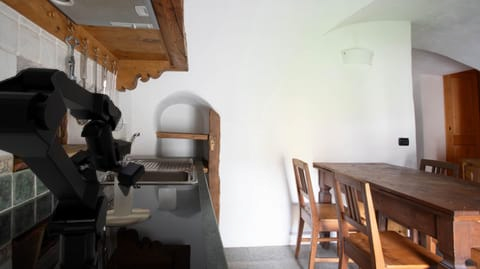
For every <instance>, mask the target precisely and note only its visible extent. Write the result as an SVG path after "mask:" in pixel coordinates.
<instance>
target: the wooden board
mask: <svg viewBox="0 0 480 269" xmlns="http://www.w3.org/2000/svg"><path fill="white" fill-rule="evenodd" d="M151 214H152V213H151V210H150V209H147V208H144V207H132V214H131V215H129V216H124V217H116V216H114V209H111V210H110V209H108V210H107V216H106V224H105V225H108V226H116V227H125V226H131V225H134V224H135V225H136V224H139V223H140V224H141V223H143V222H145V221H147V220H149V219H150V218H151V217H152V215H151ZM92 221H94V220H92Z"/></svg>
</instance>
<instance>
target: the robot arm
mask: <svg viewBox="0 0 480 269" xmlns="http://www.w3.org/2000/svg"><path fill="white" fill-rule="evenodd" d="M68 110H69V114H70V116H72V117H73V118H74V119H76V120H78V121H81V120H82V121H87V122H86V123H85V124H84V126H83V127H82V131H81V132H80V137H81V138H84V139H85V144H86V147H87V148H85V150H84V149H80V150H78V151H77V152H76V153H74V154H72V155H71V156H69V154H68V153H67V151H66V149H65V148H64V147H63V145H62V143H61V142H60V140H59V139H58V138H57V133H58V131H59V129H60V126H61V124H62V120H63V118H64V117H65V115H66V114H67V112H68ZM122 114H123V113H122V111H121V109H120V108H119V107H118V106H116V105H115V103H114V101H113V100H112V99H111V98H110V96H109V94H106V93H103V92H102V93H100V92H91V91H89V90H88V89H86V88H85V87H83V86H82V85H80V84H78V82H76V81H74V80H73V79H72V78H70V77H68V75H67V73H66V72H65V71H63V70H60V69H58V68H50V67H49V68H48V67H47V68H46V67H28V68H24V69H21V70H20V71H19V72H18V73H16V74H15V75H14V76H11V77H8V78H5V79H2V80H0V151H3V152H6V153H9V154H12V155H14V156H17V157H18V158H19V159H20V160H21V161H22V162H23V163H24V164H25V165H26V166H27V168H28V169H29V170H30V171H31V172H32V173H33V174H34V175H35V177H36V178H37V179H38V180H39V181H40V182H41V183H42V184H43V185H44V186H45V188H46V189H47V190H48V191H49V192H50V194H52V195H53V196H54V198H56V203H55V205H54V208H53V211H52V212H51V214H50V217H49V219H48V222H47V224H46V226H45V229H46V233H47V234H46V235H47V237H50V236H51V237H52V236H59V260H58V262H57V263H56V265H55V266H54V267H53V269H88V268H93V267H95V266H96V264H97V260H98V257H99V254H98V252H99V251H98V250H95V246H96V234H98V233H99V232H100V231H101V230H103V229H104V227H105V224H106V216H107V211H108V209H109V208H108V207H109V199H108V196H107V195H106V194H105V191H104V187H102V184H101V182H99V181H98V178H97V173H96V170H97V171H100V173H101V172H102V173H105V174H106V173H107V172H111V173H114V172H115V173H118V176H117V180H118V182H119V183H118V186H119V188H120V189H121V191H122V193H123V195H124V196H125V197H126V196H127V195H128V194H129V191H130V188H131V186H133V187H135V185H136V184H137V182H138V181H139V180H140V179H141V178H142V177H143V176H144V175H145V173H146V168H145V165H144V164H140V163H137V162H133V161H129V162H128V163H126V165H124V164H122V163H121V164H120V163H119V162H122V161H123V160H124V156H127V155H131V152H132V141H128V140H123V139H119V138H118V139H117V138H115V137H114V136H113V132H114V131H115V130H116V128H117V126H118V125H119V122H120V121H121V119H122ZM93 220H94V221H93Z"/></svg>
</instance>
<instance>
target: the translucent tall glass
mask: <svg viewBox="0 0 480 269" xmlns="http://www.w3.org/2000/svg"><path fill="white" fill-rule="evenodd" d="M113 176H114V185H113V186H114V188H113V189H114V192H113V194H114V195H113V210H114V216H116V217H124V216H129V215H131V214H132V208H133V201H134V200H133V198H134V196H133V195H134V193H133V191H134V190H133V189H134V186H131V188H130V191H129V194H128V195H127V196H126V197H125V196H124V195H123V193H122V191H121V189H120V188H119V186H118V183H119V182H118V180H117V176H118V173H115V172H113Z"/></svg>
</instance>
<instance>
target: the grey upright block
mask: <svg viewBox="0 0 480 269" xmlns="http://www.w3.org/2000/svg"><path fill="white" fill-rule="evenodd" d="M176 209H177V188H176V187H172V186H169V187H168V186H167V187H159V188H158V210H159V211H160V212H164V211H165V212H168V211H169V212H170V211H174V210H176Z"/></svg>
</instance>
